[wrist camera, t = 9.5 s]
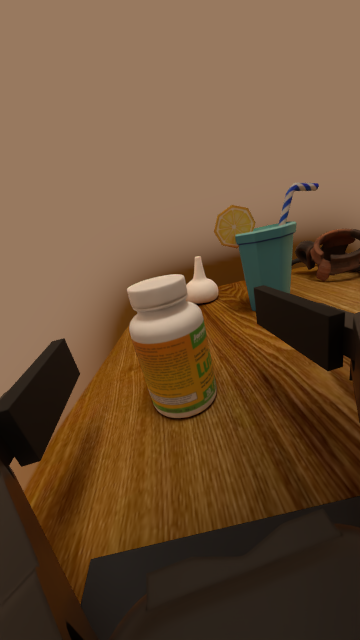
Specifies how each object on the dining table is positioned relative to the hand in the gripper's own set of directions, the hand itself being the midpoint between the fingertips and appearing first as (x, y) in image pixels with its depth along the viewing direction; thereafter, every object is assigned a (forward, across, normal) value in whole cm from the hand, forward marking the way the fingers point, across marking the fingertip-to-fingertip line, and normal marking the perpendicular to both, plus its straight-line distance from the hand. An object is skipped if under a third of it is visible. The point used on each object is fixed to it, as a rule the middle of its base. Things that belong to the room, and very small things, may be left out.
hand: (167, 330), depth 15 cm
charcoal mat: (-16, 0, -6) cm, 17 cm away
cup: (+15, +16, -7) cm, 23 cm away
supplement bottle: (+1, 0, -7) cm, 7 cm away
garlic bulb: (+26, +8, -7) cm, 28 cm away
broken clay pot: (+21, +31, -7) cm, 38 cm away
